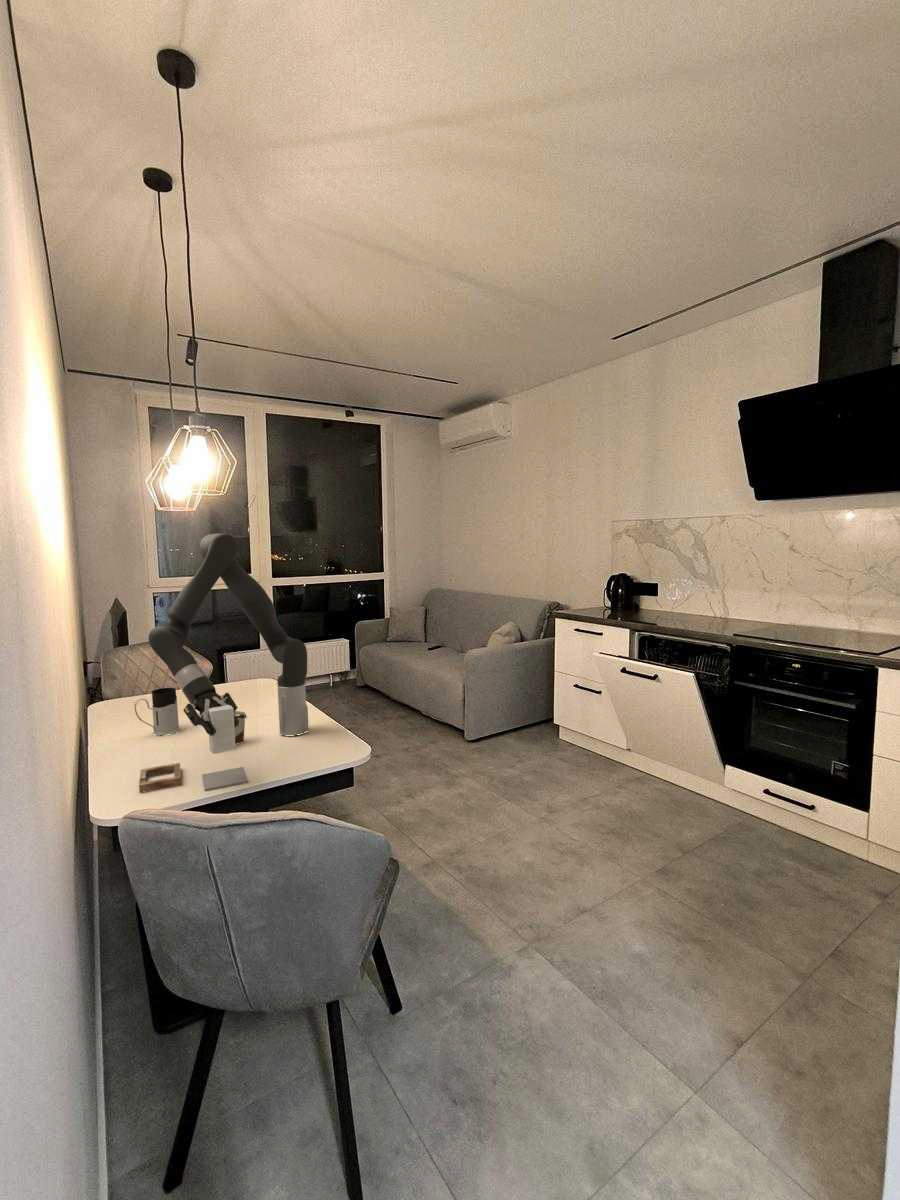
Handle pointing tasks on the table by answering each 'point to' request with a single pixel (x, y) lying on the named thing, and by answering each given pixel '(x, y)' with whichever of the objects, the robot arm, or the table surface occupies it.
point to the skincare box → (222, 729)
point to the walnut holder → (162, 782)
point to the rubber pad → (224, 778)
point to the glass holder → (163, 711)
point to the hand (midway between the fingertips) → (225, 729)
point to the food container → (240, 726)
